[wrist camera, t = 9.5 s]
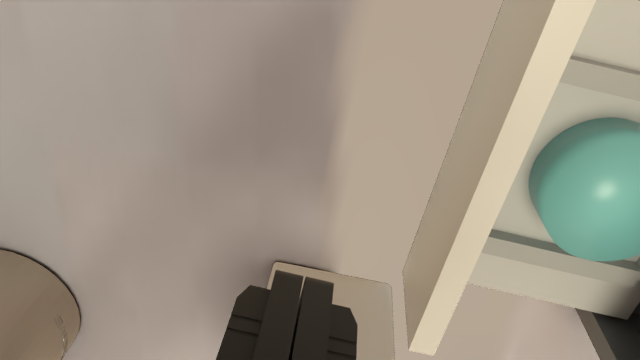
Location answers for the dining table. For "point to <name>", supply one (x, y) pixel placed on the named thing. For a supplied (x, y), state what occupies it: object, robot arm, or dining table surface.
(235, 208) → the dining table surface
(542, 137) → the tray
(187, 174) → the dining table surface
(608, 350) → the player housing
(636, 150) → the disc
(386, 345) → the milk carton
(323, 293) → the robot arm
